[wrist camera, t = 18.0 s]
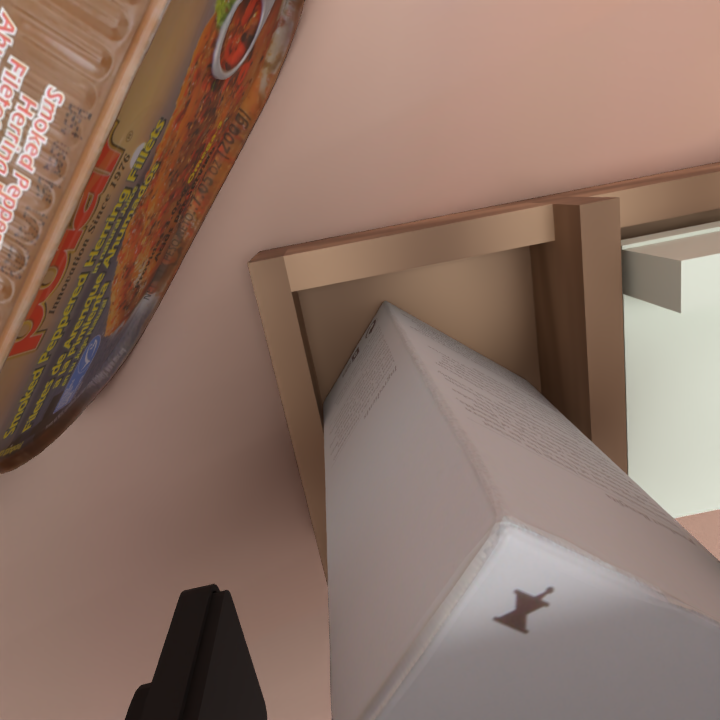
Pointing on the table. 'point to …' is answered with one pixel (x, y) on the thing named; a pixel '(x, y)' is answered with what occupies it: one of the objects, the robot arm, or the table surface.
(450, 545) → the skincare box
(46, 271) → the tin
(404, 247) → the wooden compartment tray
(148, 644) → the table surface
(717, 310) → the lid
